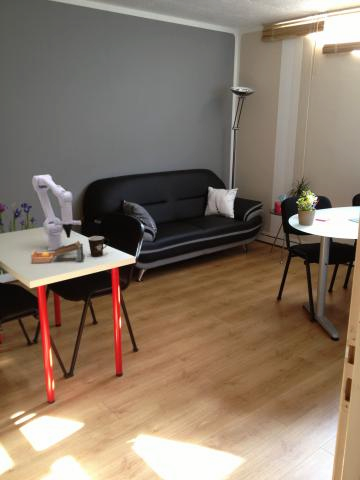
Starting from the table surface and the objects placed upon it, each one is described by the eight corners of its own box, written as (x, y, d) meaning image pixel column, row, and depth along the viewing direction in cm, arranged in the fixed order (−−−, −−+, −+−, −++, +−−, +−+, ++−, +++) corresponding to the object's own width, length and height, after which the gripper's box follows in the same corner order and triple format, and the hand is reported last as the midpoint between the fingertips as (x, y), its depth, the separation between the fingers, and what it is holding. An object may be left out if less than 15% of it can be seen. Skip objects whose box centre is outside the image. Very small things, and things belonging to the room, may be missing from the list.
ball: (50, 251, 240) (49, 258, 241) (42, 250, 239) (42, 257, 240) (48, 253, 236) (48, 260, 237) (41, 253, 235) (40, 260, 236)
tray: (35, 257, 243) (34, 249, 241) (54, 257, 244) (53, 248, 242) (31, 263, 233) (30, 254, 232) (51, 263, 234) (50, 254, 233)
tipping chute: (57, 249, 249) (55, 244, 248) (83, 241, 249) (81, 236, 248) (53, 257, 235) (51, 252, 234) (80, 249, 235) (78, 243, 234)
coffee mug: (89, 258, 242) (88, 240, 239) (89, 253, 250) (88, 236, 248) (110, 256, 244) (109, 239, 242) (109, 252, 252) (108, 235, 250)
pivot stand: (77, 256, 246) (77, 243, 244) (85, 255, 246) (84, 243, 244) (75, 262, 235) (74, 249, 233) (83, 262, 235) (82, 249, 233)
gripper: (52, 215, 238) (54, 239, 242) (79, 214, 240) (80, 238, 244) (54, 212, 245) (56, 236, 249) (80, 212, 247) (82, 235, 250)
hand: (68, 237), depth 247 cm, fingers closed
